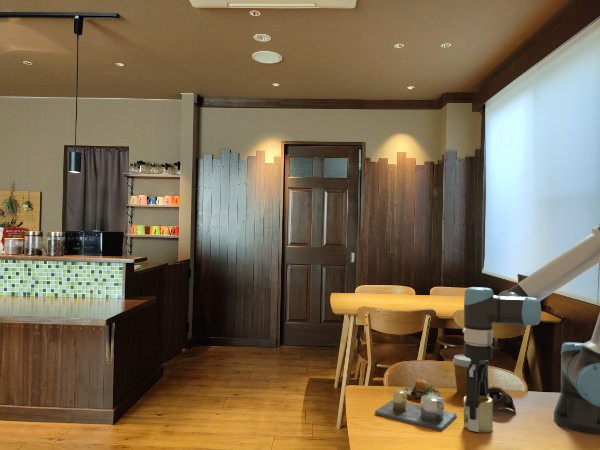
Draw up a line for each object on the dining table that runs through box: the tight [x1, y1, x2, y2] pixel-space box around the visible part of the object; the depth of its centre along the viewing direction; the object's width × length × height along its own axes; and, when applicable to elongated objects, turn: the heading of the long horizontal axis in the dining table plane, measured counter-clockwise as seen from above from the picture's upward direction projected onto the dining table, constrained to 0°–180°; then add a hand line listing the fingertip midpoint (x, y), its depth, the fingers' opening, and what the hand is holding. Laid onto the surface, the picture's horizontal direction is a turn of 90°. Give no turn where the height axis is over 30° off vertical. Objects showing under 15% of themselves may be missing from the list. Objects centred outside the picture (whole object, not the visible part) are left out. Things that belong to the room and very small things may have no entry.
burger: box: [403, 378, 441, 403], centre depth 161 cm, size 12×12×8 cm
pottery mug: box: [488, 385, 517, 415], centre depth 150 cm, size 12×10×8 cm
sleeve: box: [463, 395, 494, 433], centre depth 135 cm, size 7×7×8 cm
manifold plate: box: [374, 389, 457, 432], centre depth 144 cm, size 20×13×6 cm, turn 55°
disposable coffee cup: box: [452, 354, 471, 396], centre depth 166 cm, size 10×10×12 cm
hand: (477, 426), depth 135 cm, fingers closed on sleeve, 7 cm apart
